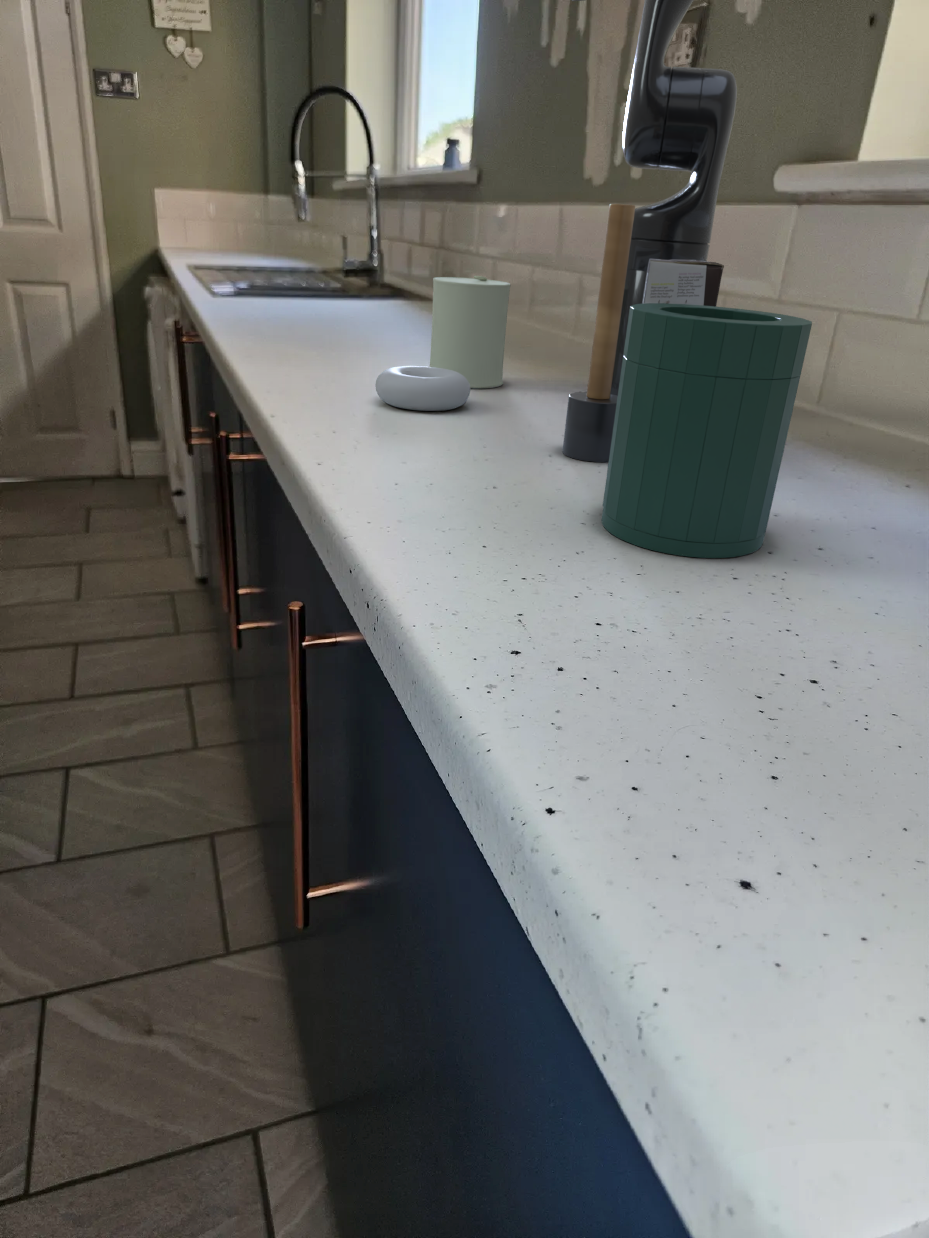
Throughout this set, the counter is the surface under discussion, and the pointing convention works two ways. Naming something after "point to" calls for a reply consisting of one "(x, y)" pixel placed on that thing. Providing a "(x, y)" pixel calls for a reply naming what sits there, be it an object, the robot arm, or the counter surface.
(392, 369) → the donut
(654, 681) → the counter surface
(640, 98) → the robot arm
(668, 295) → the coffee box
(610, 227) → the brush
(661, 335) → the green utensil holder
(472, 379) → the can
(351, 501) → the counter surface
